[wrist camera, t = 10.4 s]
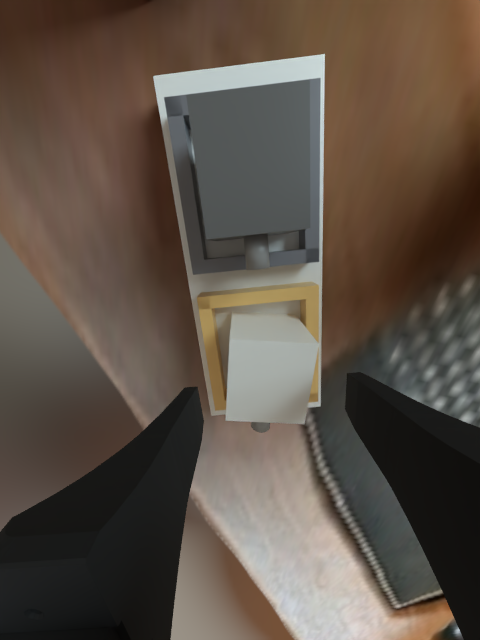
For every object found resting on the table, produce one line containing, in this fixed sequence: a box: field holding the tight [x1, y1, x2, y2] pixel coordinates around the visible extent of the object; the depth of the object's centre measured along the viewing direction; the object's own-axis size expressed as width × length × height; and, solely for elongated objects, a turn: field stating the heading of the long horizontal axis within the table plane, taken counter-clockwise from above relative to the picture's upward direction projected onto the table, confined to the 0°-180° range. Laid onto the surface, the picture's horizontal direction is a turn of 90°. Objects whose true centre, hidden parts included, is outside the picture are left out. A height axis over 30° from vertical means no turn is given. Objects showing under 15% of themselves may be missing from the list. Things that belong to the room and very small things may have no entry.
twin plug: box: [186, 80, 310, 270], centre depth 12 cm, size 4×7×5 cm
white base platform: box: [153, 54, 325, 416], centre depth 16 cm, size 9×22×4 cm, turn 6°
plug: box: [226, 311, 319, 433], centre depth 15 cm, size 4×7×5 cm
